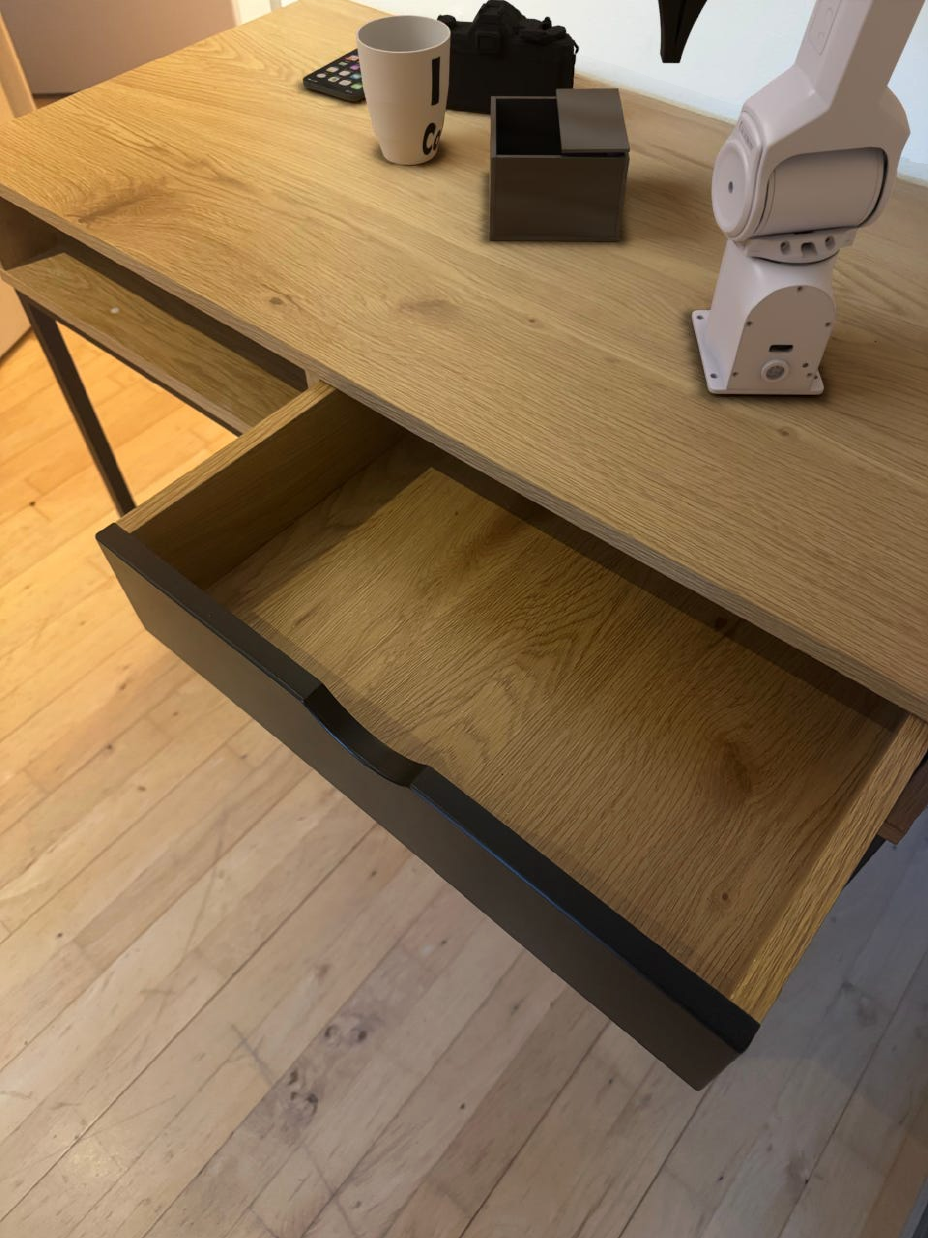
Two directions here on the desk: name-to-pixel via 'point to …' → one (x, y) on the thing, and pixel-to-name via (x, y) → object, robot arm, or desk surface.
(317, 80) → the smartphone
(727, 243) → the robot arm
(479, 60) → the film camera
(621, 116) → the flap
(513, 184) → the carton
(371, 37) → the cup
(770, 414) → the desk surface
